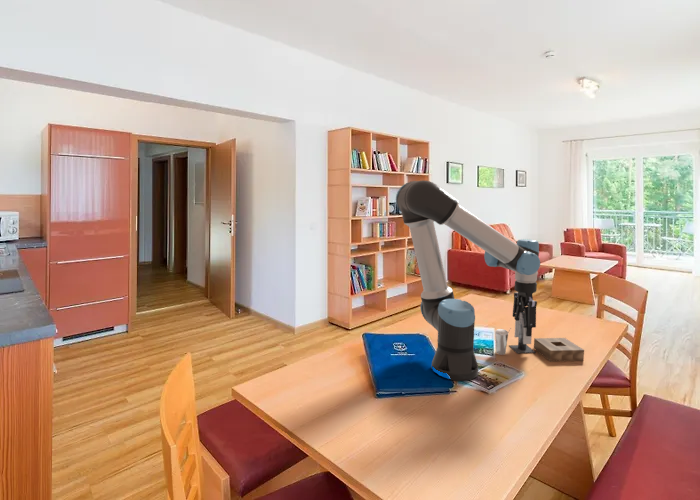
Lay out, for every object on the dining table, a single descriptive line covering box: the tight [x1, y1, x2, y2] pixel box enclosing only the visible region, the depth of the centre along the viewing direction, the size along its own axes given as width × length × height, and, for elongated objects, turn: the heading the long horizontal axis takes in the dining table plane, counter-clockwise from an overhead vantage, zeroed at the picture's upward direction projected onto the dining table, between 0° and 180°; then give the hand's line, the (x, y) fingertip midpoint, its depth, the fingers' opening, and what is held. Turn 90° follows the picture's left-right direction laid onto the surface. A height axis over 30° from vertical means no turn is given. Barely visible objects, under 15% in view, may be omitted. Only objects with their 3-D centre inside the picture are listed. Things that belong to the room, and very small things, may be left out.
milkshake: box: [494, 327, 512, 356], centre depth 147 cm, size 4×5×10 cm
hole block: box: [533, 337, 585, 362], centre depth 146 cm, size 12×12×4 cm
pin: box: [517, 312, 528, 350], centre depth 150 cm, size 3×3×14 cm
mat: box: [508, 344, 537, 354], centre depth 151 cm, size 7×7×1 cm
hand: (522, 340), depth 151 cm, fingers open, 6 cm apart
